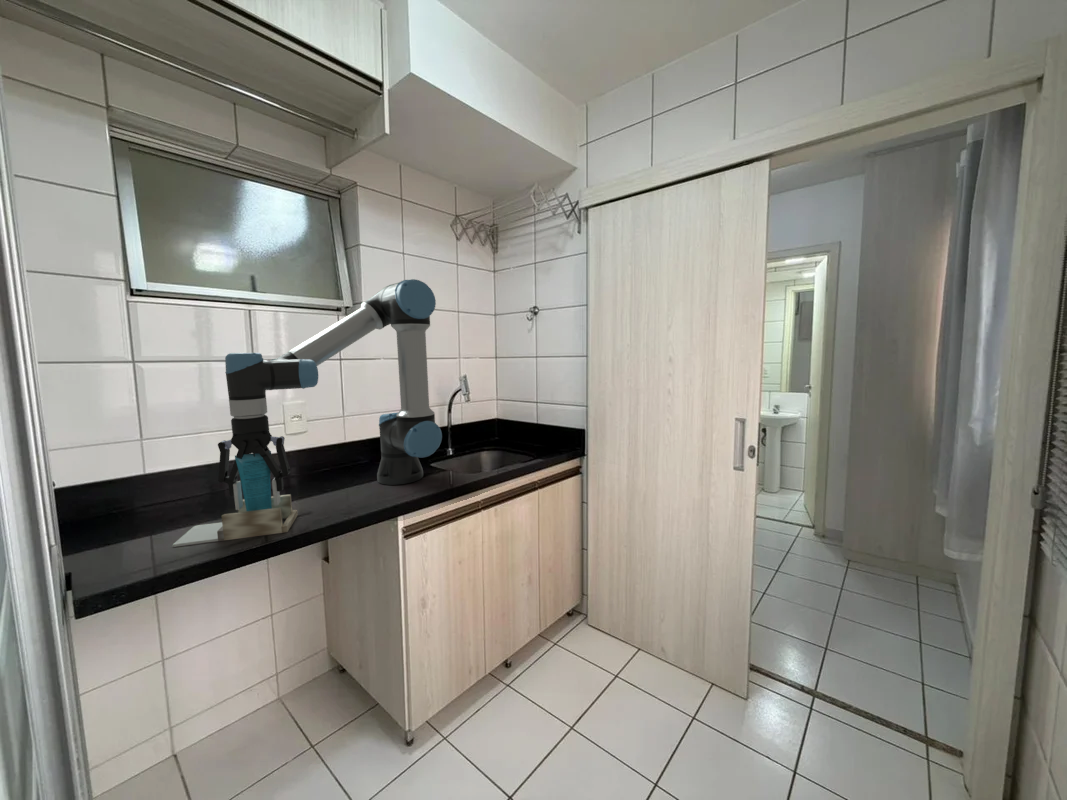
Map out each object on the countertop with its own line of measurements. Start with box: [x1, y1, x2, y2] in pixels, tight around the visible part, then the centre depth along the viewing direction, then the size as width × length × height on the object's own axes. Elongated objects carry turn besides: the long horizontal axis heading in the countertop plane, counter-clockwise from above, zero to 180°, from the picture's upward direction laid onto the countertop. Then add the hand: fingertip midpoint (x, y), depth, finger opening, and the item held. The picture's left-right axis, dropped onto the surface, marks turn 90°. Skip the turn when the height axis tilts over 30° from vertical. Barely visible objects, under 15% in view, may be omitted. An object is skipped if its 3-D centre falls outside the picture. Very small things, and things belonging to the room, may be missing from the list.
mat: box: [172, 521, 223, 548], centre depth 102 cm, size 9×11×1 cm
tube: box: [234, 450, 272, 511], centre depth 104 cm, size 7×5×19 cm, turn 133°
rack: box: [217, 493, 299, 542], centre depth 105 cm, size 14×11×6 cm
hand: (258, 505), depth 105 cm, fingers open, 8 cm apart
